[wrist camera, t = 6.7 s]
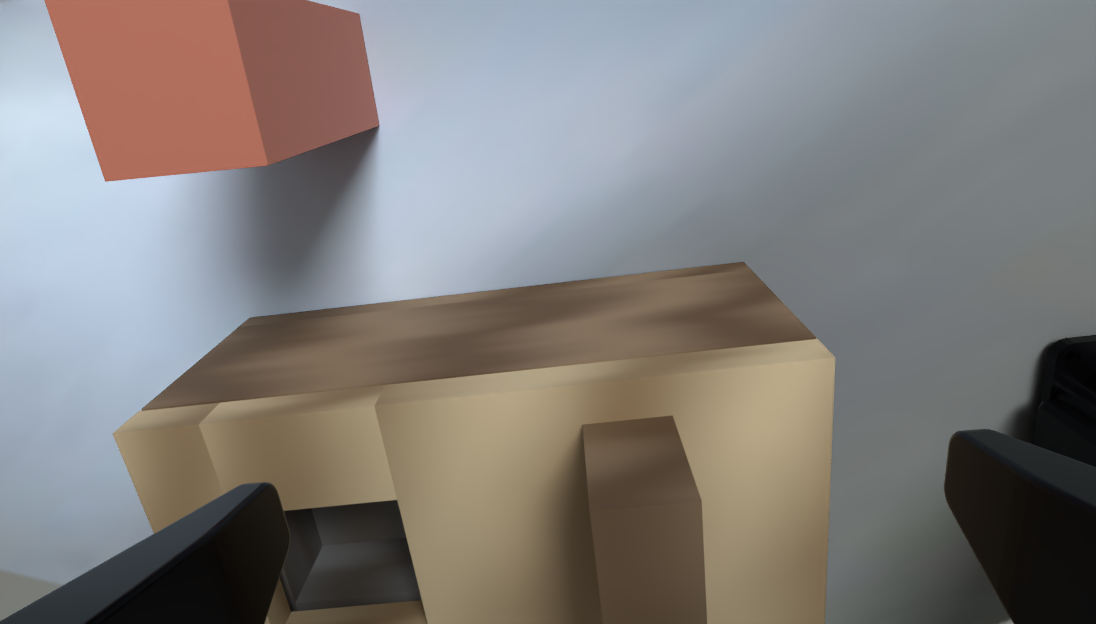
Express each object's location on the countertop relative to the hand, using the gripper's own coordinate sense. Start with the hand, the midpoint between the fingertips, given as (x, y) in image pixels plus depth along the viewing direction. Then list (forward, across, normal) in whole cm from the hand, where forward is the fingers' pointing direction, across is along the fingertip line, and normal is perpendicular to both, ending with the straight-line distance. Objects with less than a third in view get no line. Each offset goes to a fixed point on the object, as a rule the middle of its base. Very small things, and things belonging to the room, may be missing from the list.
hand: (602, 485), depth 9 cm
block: (+12, +7, -6) cm, 15 cm away
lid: (+6, +3, +6) cm, 9 cm away
